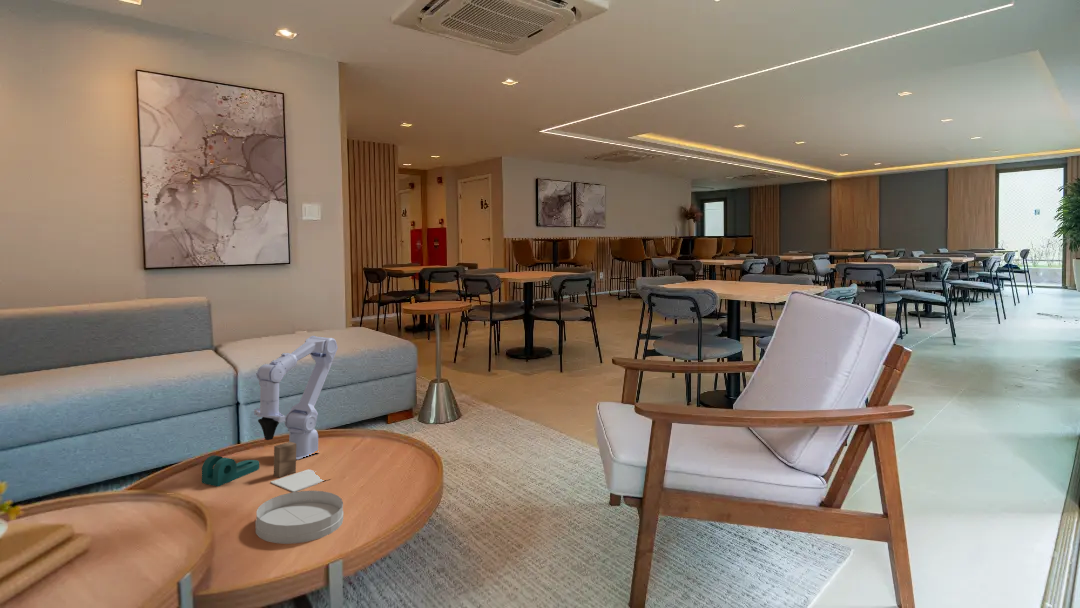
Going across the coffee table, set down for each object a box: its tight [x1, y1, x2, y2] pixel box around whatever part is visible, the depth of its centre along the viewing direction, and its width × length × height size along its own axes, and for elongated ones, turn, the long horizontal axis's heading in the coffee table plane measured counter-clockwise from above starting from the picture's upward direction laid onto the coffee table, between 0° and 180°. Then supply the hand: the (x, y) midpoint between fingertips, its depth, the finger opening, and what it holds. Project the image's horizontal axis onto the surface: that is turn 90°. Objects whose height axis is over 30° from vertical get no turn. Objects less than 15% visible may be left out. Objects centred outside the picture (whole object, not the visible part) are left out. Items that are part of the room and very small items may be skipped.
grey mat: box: [270, 468, 324, 493], centre depth 181 cm, size 14×12×1 cm
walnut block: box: [273, 441, 297, 479], centre depth 186 cm, size 6×3×10 cm, turn 148°
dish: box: [255, 490, 345, 545], centre depth 153 cm, size 22×22×5 cm
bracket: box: [201, 454, 260, 487], centre depth 183 cm, size 18×7×8 cm, turn 161°
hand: (269, 439), depth 190 cm, fingers closed
